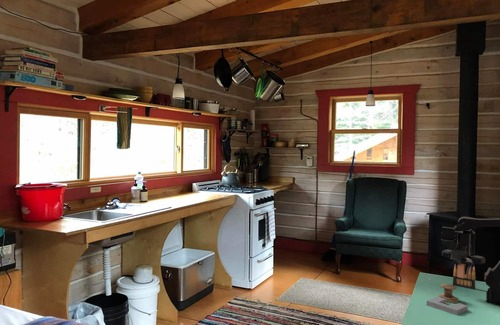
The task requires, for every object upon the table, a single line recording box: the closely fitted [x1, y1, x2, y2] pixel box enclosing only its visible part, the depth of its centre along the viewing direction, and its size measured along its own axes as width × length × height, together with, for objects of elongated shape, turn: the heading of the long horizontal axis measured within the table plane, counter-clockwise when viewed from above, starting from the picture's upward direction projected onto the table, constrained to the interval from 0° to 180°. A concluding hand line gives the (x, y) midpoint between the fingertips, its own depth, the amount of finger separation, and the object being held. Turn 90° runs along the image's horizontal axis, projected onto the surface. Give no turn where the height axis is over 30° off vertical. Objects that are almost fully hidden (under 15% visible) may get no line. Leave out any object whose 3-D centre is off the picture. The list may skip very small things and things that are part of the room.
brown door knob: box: [437, 283, 459, 304], centre depth 199 cm, size 9×9×6 cm
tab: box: [457, 263, 467, 278], centre depth 204 cm, size 3×4×6 cm
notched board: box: [426, 296, 469, 316], centre depth 189 cm, size 14×10×2 cm
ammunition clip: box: [452, 265, 476, 290], centre depth 220 cm, size 11×2×12 cm, turn 52°
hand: (462, 273), depth 204 cm, fingers closed on tab, 3 cm apart
